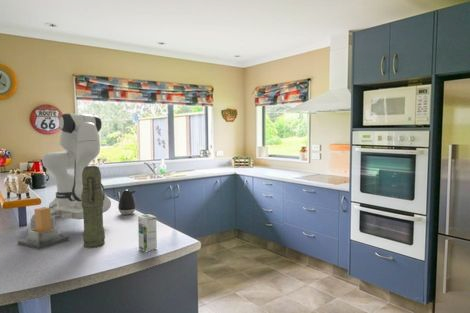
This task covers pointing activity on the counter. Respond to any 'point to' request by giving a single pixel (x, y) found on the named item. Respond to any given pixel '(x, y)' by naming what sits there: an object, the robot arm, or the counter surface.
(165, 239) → the counter surface
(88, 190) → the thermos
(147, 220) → the syrup box
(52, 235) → the grey rail base plate
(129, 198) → the black kettle
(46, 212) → the tall orange pillar
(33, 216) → the lumpy-topped squat cylinder
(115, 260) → the counter surface
